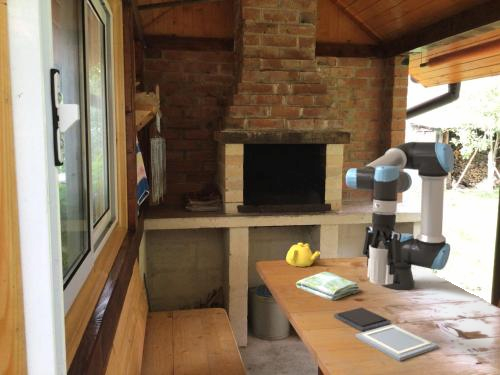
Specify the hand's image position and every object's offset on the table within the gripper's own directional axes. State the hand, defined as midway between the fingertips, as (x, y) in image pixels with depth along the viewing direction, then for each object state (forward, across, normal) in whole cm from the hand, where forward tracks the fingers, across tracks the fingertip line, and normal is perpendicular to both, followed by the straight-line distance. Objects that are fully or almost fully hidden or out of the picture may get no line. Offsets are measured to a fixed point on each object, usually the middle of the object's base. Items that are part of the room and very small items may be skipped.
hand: (379, 280), depth 150 cm
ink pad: (+18, -9, +2) cm, 20 cm away
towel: (+18, -41, +12) cm, 46 cm away
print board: (+18, +9, 0) cm, 20 cm away
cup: (+1, 0, 0) cm, 1 cm away
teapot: (+18, -77, +26) cm, 83 cm away
